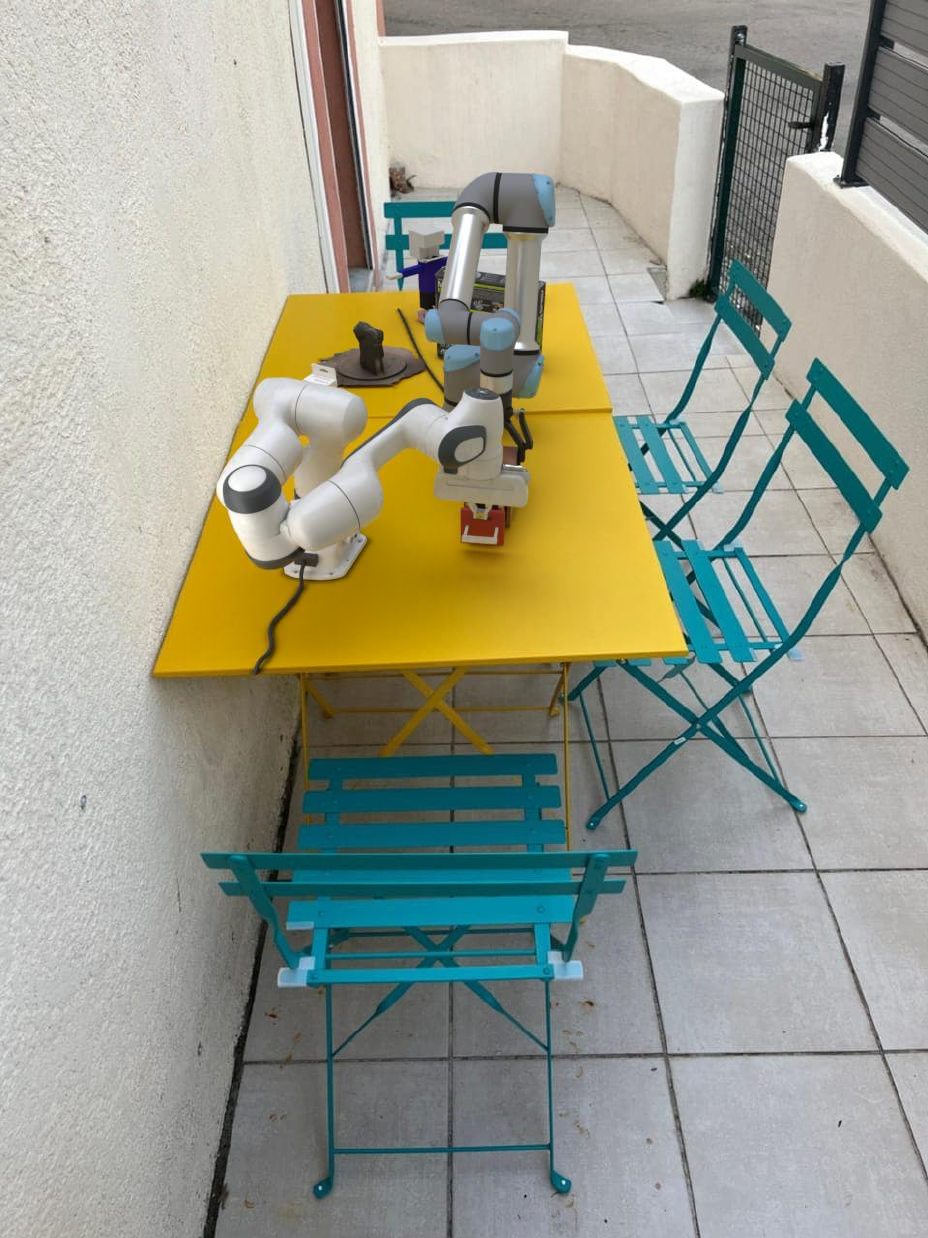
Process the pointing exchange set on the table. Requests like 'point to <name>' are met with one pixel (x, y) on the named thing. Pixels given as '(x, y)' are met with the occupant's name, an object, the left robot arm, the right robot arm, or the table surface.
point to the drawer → (483, 526)
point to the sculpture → (372, 360)
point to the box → (492, 301)
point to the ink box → (322, 376)
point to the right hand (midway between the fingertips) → (494, 471)
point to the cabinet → (510, 459)
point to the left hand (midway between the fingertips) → (480, 517)
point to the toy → (424, 264)
